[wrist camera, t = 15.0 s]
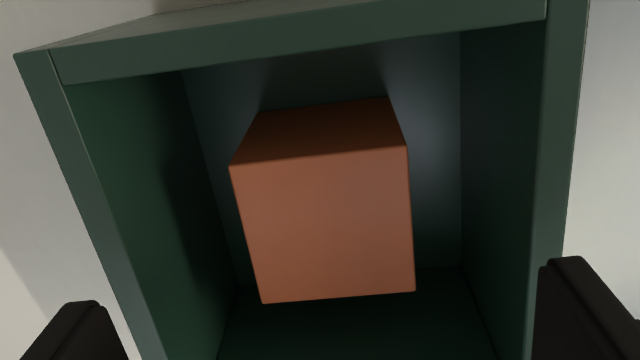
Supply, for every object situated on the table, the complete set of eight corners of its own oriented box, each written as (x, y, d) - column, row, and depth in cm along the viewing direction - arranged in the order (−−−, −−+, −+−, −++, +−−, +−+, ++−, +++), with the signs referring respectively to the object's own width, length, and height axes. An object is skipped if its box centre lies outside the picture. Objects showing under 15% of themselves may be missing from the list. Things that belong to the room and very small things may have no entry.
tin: (151, 15, 16) (11, 54, 9) (477, -35, 15) (595, -32, 8) (229, 288, 22) (177, 443, 15) (474, 266, 21) (544, 423, 14)
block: (279, 224, 19) (261, 305, 15) (256, 111, 17) (226, 165, 12) (397, 212, 19) (416, 292, 14) (389, 95, 16) (408, 144, 12)
